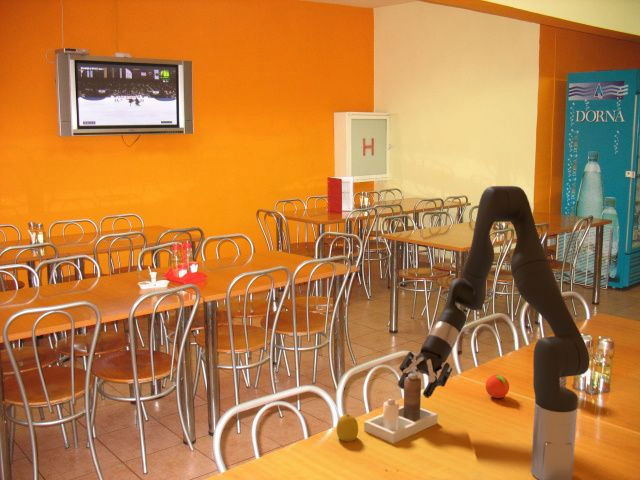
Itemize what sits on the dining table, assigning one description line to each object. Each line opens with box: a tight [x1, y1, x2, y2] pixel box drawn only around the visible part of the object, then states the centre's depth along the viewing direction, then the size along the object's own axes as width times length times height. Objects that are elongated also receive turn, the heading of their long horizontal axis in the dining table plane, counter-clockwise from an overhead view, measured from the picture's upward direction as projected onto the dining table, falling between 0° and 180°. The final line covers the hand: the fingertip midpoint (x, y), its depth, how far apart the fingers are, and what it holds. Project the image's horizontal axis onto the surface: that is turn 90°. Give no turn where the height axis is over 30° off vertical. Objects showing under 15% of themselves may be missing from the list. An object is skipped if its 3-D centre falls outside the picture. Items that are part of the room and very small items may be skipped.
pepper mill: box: [403, 374, 422, 422], centre depth 184 cm, size 4×4×13 cm
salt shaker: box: [382, 398, 400, 431], centre depth 179 cm, size 4×4×9 cm
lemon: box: [336, 413, 359, 443], centre depth 175 cm, size 6×6×8 cm
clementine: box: [485, 374, 510, 399], centre depth 205 cm, size 8×7×7 cm
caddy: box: [363, 404, 439, 444], centre depth 182 cm, size 18×10×4 cm, turn 133°
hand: (412, 391), depth 184 cm, fingers open, 8 cm apart
